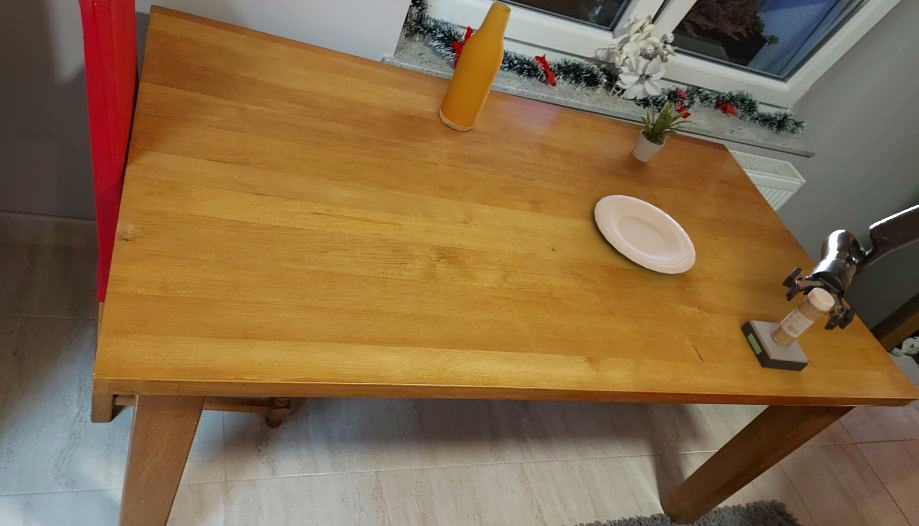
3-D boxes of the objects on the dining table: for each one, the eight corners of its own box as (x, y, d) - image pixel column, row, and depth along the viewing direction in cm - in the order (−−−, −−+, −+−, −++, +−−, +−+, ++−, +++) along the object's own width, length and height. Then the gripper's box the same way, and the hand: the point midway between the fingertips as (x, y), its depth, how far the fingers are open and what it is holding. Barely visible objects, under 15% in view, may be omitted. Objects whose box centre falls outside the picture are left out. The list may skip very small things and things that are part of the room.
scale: (777, 332, 145) (787, 323, 143) (800, 371, 138) (811, 362, 136) (739, 328, 141) (748, 318, 139) (761, 367, 135) (771, 357, 133)
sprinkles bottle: (793, 344, 138) (839, 301, 130) (783, 351, 135) (829, 307, 127) (776, 327, 140) (820, 284, 132) (765, 333, 138) (810, 289, 129)
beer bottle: (461, 108, 166) (506, -4, 147) (481, 131, 161) (530, 19, 143) (430, 109, 161) (473, -6, 142) (450, 134, 156) (497, 17, 137)
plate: (694, 295, 144) (699, 289, 143) (587, 249, 142) (591, 243, 141) (688, 227, 163) (692, 221, 162) (593, 186, 161) (597, 180, 160)
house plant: (676, 179, 178) (712, 128, 168) (633, 173, 173) (667, 120, 162) (654, 146, 187) (687, 96, 177) (612, 138, 182) (643, 86, 171)
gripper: (811, 246, 143) (790, 275, 132) (872, 290, 139) (856, 324, 127) (788, 270, 148) (766, 300, 137) (846, 313, 144) (828, 348, 132)
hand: (809, 312), depth 132 cm, fingers open, 8 cm apart
